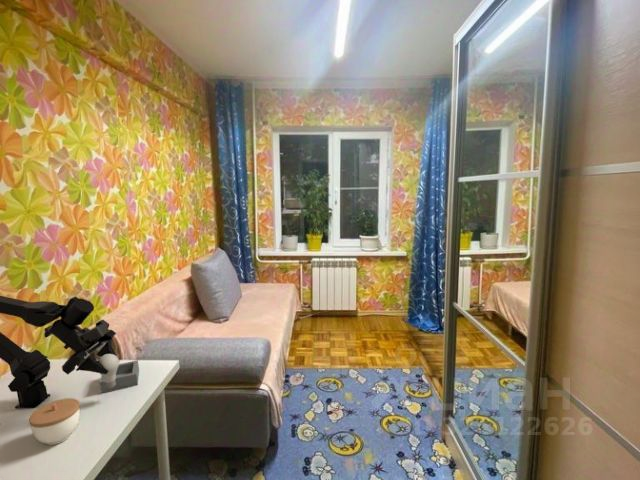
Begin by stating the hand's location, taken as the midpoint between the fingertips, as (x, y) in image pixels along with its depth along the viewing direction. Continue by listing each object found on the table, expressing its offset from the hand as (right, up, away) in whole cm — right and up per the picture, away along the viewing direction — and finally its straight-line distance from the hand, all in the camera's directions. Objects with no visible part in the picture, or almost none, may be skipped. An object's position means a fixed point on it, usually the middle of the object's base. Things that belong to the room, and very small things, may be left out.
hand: (113, 367), depth 110 cm
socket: (-4, -9, +12) cm, 15 cm away
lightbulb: (-1, -7, +1) cm, 7 cm away
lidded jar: (-6, -13, -14) cm, 20 cm away
